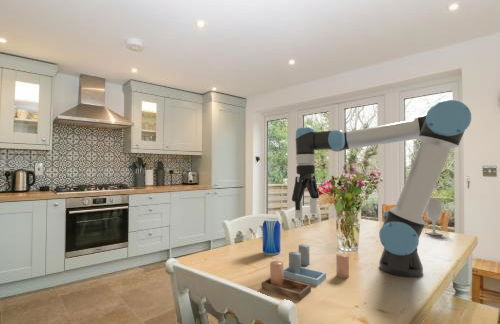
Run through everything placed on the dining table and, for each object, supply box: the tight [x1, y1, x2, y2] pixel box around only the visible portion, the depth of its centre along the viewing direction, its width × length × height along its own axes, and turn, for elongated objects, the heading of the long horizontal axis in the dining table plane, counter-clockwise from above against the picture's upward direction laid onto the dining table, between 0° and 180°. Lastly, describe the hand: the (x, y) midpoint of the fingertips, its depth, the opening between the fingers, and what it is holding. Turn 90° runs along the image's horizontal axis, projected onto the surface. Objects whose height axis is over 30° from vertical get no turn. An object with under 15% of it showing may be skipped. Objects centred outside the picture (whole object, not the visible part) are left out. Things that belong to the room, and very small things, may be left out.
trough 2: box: [283, 266, 327, 287], centre depth 101 cm, size 14×8×2 cm, turn 53°
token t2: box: [335, 253, 350, 279], centre depth 103 cm, size 4×4×8 cm
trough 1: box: [261, 277, 312, 302], centre depth 91 cm, size 14×8×2 cm, turn 53°
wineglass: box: [424, 198, 444, 236], centre depth 169 cm, size 9×9×21 cm
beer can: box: [262, 217, 282, 257], centre depth 131 cm, size 8×8×16 cm
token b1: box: [288, 251, 302, 275], centre depth 103 cm, size 4×4×8 cm
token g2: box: [298, 243, 310, 267], centre depth 115 cm, size 4×4×8 cm
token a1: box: [269, 260, 284, 288], centre depth 93 cm, size 4×4×8 cm
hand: (306, 215), depth 116 cm, fingers open, 13 cm apart
